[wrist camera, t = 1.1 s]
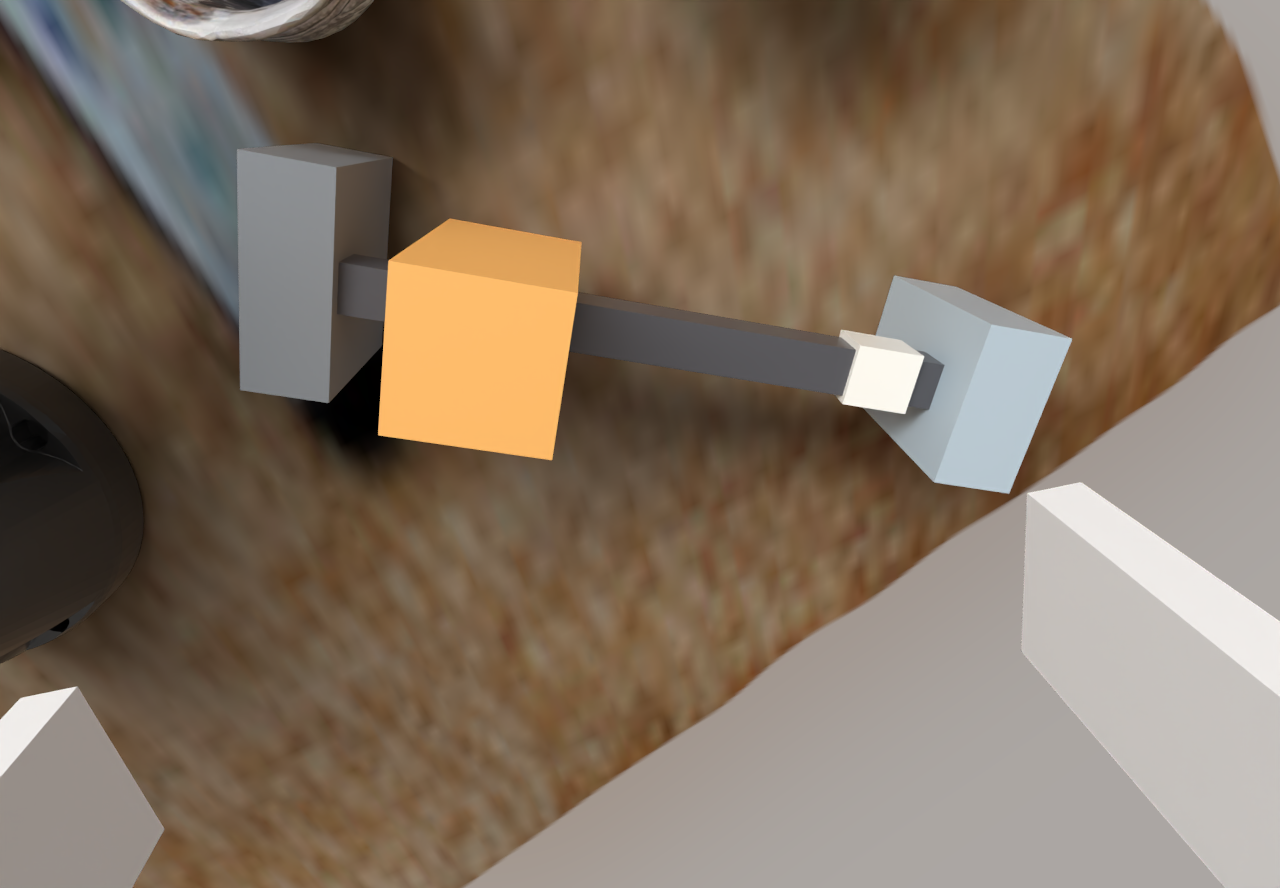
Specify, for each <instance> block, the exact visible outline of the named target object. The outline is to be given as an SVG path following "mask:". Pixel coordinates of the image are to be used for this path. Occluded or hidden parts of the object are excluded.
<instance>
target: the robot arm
mask: <svg viewBox="0 0 1280 888" xmlns="http://www.w3.org/2000/svg"><path fill="white" fill-rule="evenodd" d="M143 525H144V521H143V506H142V500H141V495H140V491H139V487H138V484H137V481H136V478H135V475H134V473H133V470H132V468H131V466H130V463H129V461H128V459H127V457H126V456H125V454H124V452H123V450H122V448H121V447H120V445H119V444H118V442H117V441H116V439H115V438H114V436H113V435H112V434H111V432H110V431H109V429H108V428H107V427H106V426H105V424H104V423H103V422H102V421H101V420H100V419H99V417H98V416H97V415H96V414H95V413H94V412H93V411H92V410H91V409H90V408H89V407H88V406H87V405H86V404H85V403H84V402H83V401H82V400H81V399H80V398H79V397H77V396H76V395H75V394H74V393H73V392H71V391H70V390H69V389H68V388H67V387H65V386H64V385H62V384H61V383H60V382H58V381H57V380H56V379H54V378H53V377H51V376H50V375H48V374H47V373H45V372H44V371H42V370H40V369H39V368H37V367H35V366H33V365H32V364H30V363H28V362H26V361H24V360H22V359H20V358H18V357H16V356H14V355H12V354H9V353H7V352H5V351H3V350H0V663H3V662H5V661H7V660H9V659H11V658H13V657H15V656H17V655H19V654H21V653H22V652H24V651H26V650H28V649H31V648H35V647H37V646H40V645H42V644H45V643H47V642H49V641H51V640H53V639H55V638H57V637H59V636H61V635H63V634H65V633H67V632H68V631H70V630H71V629H73V628H74V627H76V626H77V625H79V624H80V623H81V622H83V621H84V620H85V619H86V618H88V617H89V616H90V615H91V614H92V613H93V612H94V611H95V610H96V609H97V608H98V607H99V606H100V605H101V604H102V603H103V602H104V601H105V600H107V599H108V598H109V597H110V596H111V595H112V594H113V593H114V592H115V591H116V589H117V588H118V587H119V586H120V585H121V584H122V583H123V581H124V580H125V579H126V577H127V576H128V574H129V573H130V571H131V569H132V567H133V565H134V563H135V561H136V559H137V556H138V553H139V550H140V546H141V542H142V536H143ZM1022 618H1023V619H1022V645H1021V652H1022V653H1023V654H1024V655H1025V656H1026V658H1027V659H1028V660H1029V661H1030V662H1031V663H1032V664H1033V666H1034V667H1035V668H1036V669H1037V670H1038V672H1039V673H1040V674H1041V675H1042V676H1043V677H1044V679H1045V680H1046V681H1047V682H1048V683H1049V684H1050V685H1051V687H1052V688H1053V689H1054V690H1055V691H1056V692H1057V694H1058V695H1059V696H1060V697H1061V698H1062V699H1063V700H1064V702H1065V703H1066V704H1067V705H1068V706H1069V708H1070V709H1071V710H1072V711H1073V712H1074V713H1075V714H1076V716H1077V717H1078V718H1079V719H1080V720H1081V721H1082V723H1083V724H1084V725H1085V726H1086V727H1087V728H1088V729H1089V731H1090V732H1091V733H1092V734H1093V735H1094V737H1095V738H1096V739H1097V740H1098V741H1099V742H1100V743H1101V745H1102V746H1103V747H1104V748H1105V749H1106V750H1107V752H1108V753H1109V754H1110V755H1111V756H1112V757H1113V759H1114V760H1115V761H1116V762H1117V763H1118V764H1119V766H1120V767H1121V768H1122V769H1123V770H1124V771H1125V773H1126V774H1127V775H1128V776H1129V777H1130V778H1131V779H1132V781H1133V782H1134V783H1135V784H1136V785H1137V786H1138V787H1139V789H1140V790H1141V791H1142V792H1143V793H1144V794H1145V796H1146V797H1147V798H1148V799H1149V800H1150V801H1151V803H1152V804H1153V805H1154V806H1155V807H1156V808H1157V810H1158V811H1159V812H1160V813H1161V814H1162V815H1163V817H1164V818H1165V819H1166V820H1167V821H1168V822H1169V824H1170V825H1171V826H1172V827H1173V828H1174V829H1175V830H1176V832H1177V833H1178V834H1179V835H1180V836H1181V837H1182V838H1183V840H1184V841H1185V842H1186V843H1187V844H1188V846H1189V847H1190V848H1191V849H1192V850H1193V851H1194V852H1195V854H1197V856H1198V857H1199V858H1200V859H1201V861H1202V862H1203V863H1204V864H1205V865H1206V866H1207V868H1208V869H1209V870H1210V871H1211V872H1212V873H1213V875H1214V876H1215V877H1216V878H1217V879H1218V880H1219V882H1220V883H1221V884H1222V885H1223V886H1224V887H1225V888H1280V621H1278V620H1277V619H1275V618H1274V617H1273V616H1271V615H1270V614H1268V613H1267V612H1265V611H1264V610H1263V609H1261V608H1260V607H1258V606H1257V605H1256V604H1254V603H1253V602H1251V601H1250V600H1248V599H1247V598H1246V597H1244V596H1243V595H1241V594H1240V593H1238V592H1237V591H1236V590H1234V589H1233V588H1231V587H1230V586H1228V585H1227V584H1226V583H1224V582H1223V581H1221V580H1220V579H1218V578H1217V577H1216V576H1214V575H1213V574H1211V573H1210V572H1208V571H1207V570H1206V569H1204V568H1203V567H1201V566H1200V565H1199V564H1197V563H1196V562H1194V561H1193V560H1191V559H1190V558H1189V557H1187V556H1186V555H1184V554H1183V553H1181V552H1180V551H1179V550H1177V549H1176V548H1174V547H1173V546H1171V545H1170V544H1169V543H1167V542H1166V541H1164V540H1163V539H1161V538H1160V537H1158V536H1157V535H1156V534H1154V533H1153V532H1151V531H1150V530H1149V529H1147V528H1146V527H1144V526H1143V525H1141V524H1140V523H1139V522H1137V521H1136V520H1134V519H1133V518H1132V517H1130V516H1129V515H1127V514H1126V513H1124V512H1123V511H1121V510H1120V509H1119V508H1117V507H1116V506H1114V505H1113V504H1112V503H1110V502H1109V501H1107V500H1106V499H1104V498H1103V497H1101V496H1100V495H1099V494H1097V493H1096V492H1094V491H1093V490H1092V489H1090V488H1089V487H1087V486H1086V485H1084V484H1083V483H1082V482H1080V483H1075V484H1070V485H1065V486H1060V487H1055V488H1050V489H1045V490H1040V491H1035V492H1030V493H1027V508H1026V536H1025V563H1024V590H1023V617H1022ZM163 831H164V827H163V826H162V824H161V822H160V821H159V819H158V818H157V816H156V814H155V813H154V811H153V809H152V808H151V806H150V804H149V803H148V801H147V800H146V798H145V796H144V795H143V793H142V791H141V790H140V788H139V786H138V785H137V783H136V782H135V780H134V778H133V777H132V775H131V773H130V772H129V770H128V768H127V767H126V765H125V764H124V762H123V760H122V759H121V757H120V755H119V754H118V752H117V750H116V749H115V747H114V745H113V744H112V742H111V741H110V739H109V737H108V736H107V734H106V732H105V731H104V729H103V727H102V726H101V724H100V723H99V721H98V719H97V718H96V716H95V714H94V713H93V711H92V709H91V708H90V706H89V705H88V703H87V701H86V700H85V698H84V696H83V695H82V693H81V691H80V690H79V688H78V687H72V688H67V689H62V690H57V691H52V692H47V693H43V694H38V695H33V696H28V697H23V698H20V699H19V700H18V701H17V702H16V704H15V705H14V706H13V707H12V708H11V709H10V710H9V711H8V712H7V713H6V714H5V715H4V716H3V717H2V719H1V720H0V888H132V887H133V885H134V883H135V881H136V880H137V878H138V876H139V874H140V872H141V871H142V869H143V867H144V865H145V863H146V862H147V860H148V858H149V856H150V854H151V853H152V851H153V849H154V847H155V845H156V844H157V842H158V840H159V838H160V836H161V835H162V833H163Z"/></svg>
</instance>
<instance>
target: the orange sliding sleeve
mask: <svg viewBox="0 0 1280 888" xmlns="http://www.w3.org/2000/svg"><path fill="white" fill-rule="evenodd" d="M580 256H581V242H578V241H572V240H567V239H561V238H555V237H550V236H544V235H539V234H533V233H528V232H522V231H517V230H511V229H505V228H500V227H494V226H489V225H483V224H478V223H472V222H467V221H461V220H455V219H448V220H447V221H445V222H444V223H442V224H441V225H440V226H438V227H437V228H435V229H434V230H432V231H431V232H429V233H428V234H426V235H425V236H424V237H422V238H421V239H419V240H418V241H416V242H415V243H413V244H412V245H410V246H409V247H407V248H406V249H405V250H403V251H402V252H400V253H399V254H397V255H396V256H394V257H393V258H391V259H390V260H389V261H388V276H387V293H386V309H385V326H384V343H383V360H382V377H381V393H380V410H379V427H378V435H379V436H386V437H393V438H400V439H407V440H414V441H421V442H428V443H435V444H442V445H449V446H456V447H463V448H470V449H477V450H484V451H491V452H498V453H505V454H512V455H519V456H526V457H533V458H540V459H547V460H552V457H553V451H554V444H555V438H556V432H557V425H558V419H559V412H560V406H561V399H562V393H563V386H564V380H565V373H566V367H567V360H568V354H569V347H570V341H571V334H572V328H573V321H574V315H575V308H576V302H577V296H578V284H579V270H580Z"/></svg>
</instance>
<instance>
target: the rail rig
mask: <svg viewBox="0 0 1280 888" xmlns="http://www.w3.org/2000/svg"><path fill="white" fill-rule="evenodd" d="M392 164H393V157H388V156H383V155H378V154H372V153H367V152H362V151H356V150H351V149H346V148H340V147H335V146H330V145H325V144H319V143H310V144H296V145H283V146H270V147H257V148H243V149H237V196H238V269H239V342H240V390H243V391H250V392H257V393H264V394H271V395H277V396H284V397H291V398H298V399H305V400H311V401H318V402H325V403H329V402H330V401H331V400H332V399H333V398H334V397H335V396H336V395H337V394H338V393H339V391H340V390H341V389H342V388H343V387H344V386H345V385H346V384H347V383H348V382H349V381H350V380H351V379H352V377H353V376H354V375H355V374H356V373H357V372H358V371H359V370H360V369H361V368H362V367H363V366H364V365H365V364H366V362H367V361H368V360H369V359H370V358H371V357H372V356H373V355H374V354H375V353H376V352H377V351H378V350H379V348H380V347H381V346H382V334H383V322H385V309H386V293H387V276H388V261H389V260H387V249H388V232H389V215H390V198H391V181H392ZM1071 341H1072V339H1071V338H1069V337H1067V336H1065V335H1062V334H1060V333H1058V332H1056V331H1054V330H1051V329H1049V328H1047V327H1045V326H1042V325H1040V324H1038V323H1036V322H1034V321H1031V320H1029V319H1027V318H1025V317H1022V316H1020V315H1018V314H1016V313H1013V312H1011V311H1009V310H1007V309H1005V308H1002V307H1000V306H998V305H996V304H993V303H991V302H989V301H987V300H985V299H982V298H980V297H978V296H976V295H973V294H971V293H969V292H967V291H965V290H962V289H960V288H958V287H954V286H949V285H943V284H938V283H933V282H927V281H922V280H916V279H911V278H905V277H900V276H894V278H893V281H892V284H891V287H890V291H889V294H888V297H887V300H886V304H885V307H884V310H883V313H882V317H881V320H880V323H879V326H878V330H877V333H876V336H875V335H869V334H863V333H858V332H852V331H846V330H841V332H840V336H839V337H836V336H830V335H824V334H818V333H812V332H807V331H801V330H795V329H789V328H783V327H777V326H772V325H766V324H760V323H754V322H748V321H743V320H737V319H731V318H725V317H719V316H713V315H708V314H702V313H696V312H690V311H684V310H678V309H673V308H667V307H661V306H655V305H649V304H643V303H638V302H632V301H626V300H620V299H614V298H608V297H603V296H597V295H591V294H585V293H579V292H578V296H577V302H576V308H575V315H574V321H573V328H572V334H571V341H570V347H569V352H575V353H581V354H587V355H593V356H600V357H606V358H612V359H618V360H624V361H630V362H637V363H643V364H649V365H655V366H661V367H668V368H674V369H680V370H686V371H692V372H699V373H705V374H711V375H717V376H723V377H730V378H736V379H742V380H748V381H754V382H761V383H767V384H773V385H779V386H785V387H791V388H798V389H804V390H810V391H816V392H822V393H829V394H834V395H835V396H836V397H837V398H838V400H839V401H840V402H841V403H842V404H845V405H851V406H857V407H862V408H863V409H864V410H865V411H866V412H867V413H868V414H869V415H870V416H871V417H872V418H873V419H874V420H875V421H876V422H877V423H878V424H879V425H880V426H881V427H882V429H883V430H884V431H885V432H886V433H887V434H888V435H889V436H890V437H891V438H892V439H893V440H894V441H895V442H896V443H897V444H898V445H899V446H900V447H901V448H902V449H903V450H904V452H905V453H906V454H907V455H908V456H909V457H910V458H911V459H912V460H913V461H914V462H915V463H916V464H917V465H918V466H919V467H920V468H921V469H922V470H923V471H924V472H925V474H926V475H927V476H928V477H929V478H930V479H931V480H932V481H933V482H935V483H941V484H948V485H955V486H962V487H968V488H975V489H982V490H988V491H995V492H1002V493H1009V492H1010V490H1011V488H1012V485H1013V483H1014V480H1015V478H1016V475H1017V473H1018V470H1019V468H1020V465H1021V463H1022V461H1023V458H1024V456H1025V453H1026V451H1027V448H1028V446H1029V443H1030V441H1031V439H1032V436H1033V434H1034V431H1035V429H1036V426H1037V424H1038V421H1039V419H1040V417H1041V414H1042V412H1043V409H1044V407H1045V404H1046V402H1047V399H1048V397H1049V395H1050V392H1051V390H1052V387H1053V385H1054V382H1055V380H1056V377H1057V375H1058V373H1059V370H1060V368H1061V365H1062V363H1063V360H1064V358H1065V355H1066V353H1067V351H1068V348H1069V346H1070V343H1071Z"/></svg>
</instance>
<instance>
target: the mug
mask: <svg viewBox="0 0 1280 888" xmlns="http://www.w3.org/2000/svg"><path fill="white" fill-rule="evenodd" d="M121 1H122V2H124V3H125V4H126V5H128V6H129V7H131V8H132V9H133V10H135V11H136V12H138V13H139V14H141V15H142V16H144V17H145V18H147V19H148V20H150V21H152V22H154V23H155V24H157V25H159V26H161V27H163V28H165V29H167V30H169V31H171V32H173V33H176V34H178V35H181V36H185V37H189V38H194V39H198V40H208V41H230V42H234V41H255V40H263V41H273V42H288V43H290V42H309V41H313V40H317V39H322V38H325V37H327V36H329V35H332V34H334V33H336V32H339V31H342V30H343V29H345V28H346V27H347V26H349V25H350V24H352V23H353V22H355V21H356V20H357V19H358V18H359V17H360V16H361V15H362V14H363V13H364V12H365V11H366V10H367V9H368V8H369V6H370V5H371V4H372V2H373V1H374V0H121Z"/></svg>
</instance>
